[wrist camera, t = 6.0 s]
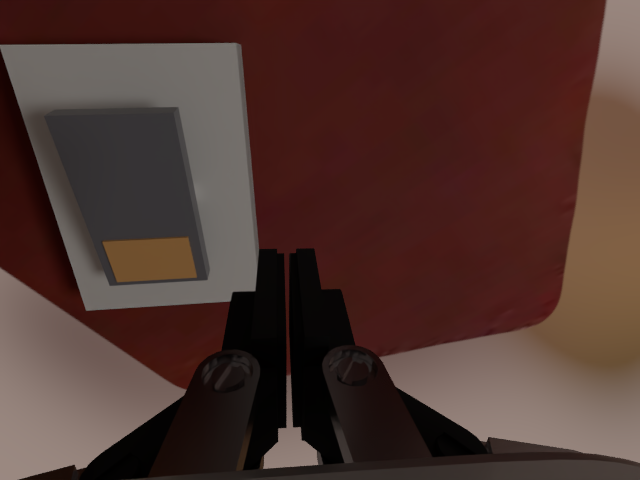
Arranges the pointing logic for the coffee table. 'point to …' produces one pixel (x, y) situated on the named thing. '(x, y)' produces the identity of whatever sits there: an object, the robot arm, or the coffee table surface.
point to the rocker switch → (134, 191)
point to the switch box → (200, 137)
